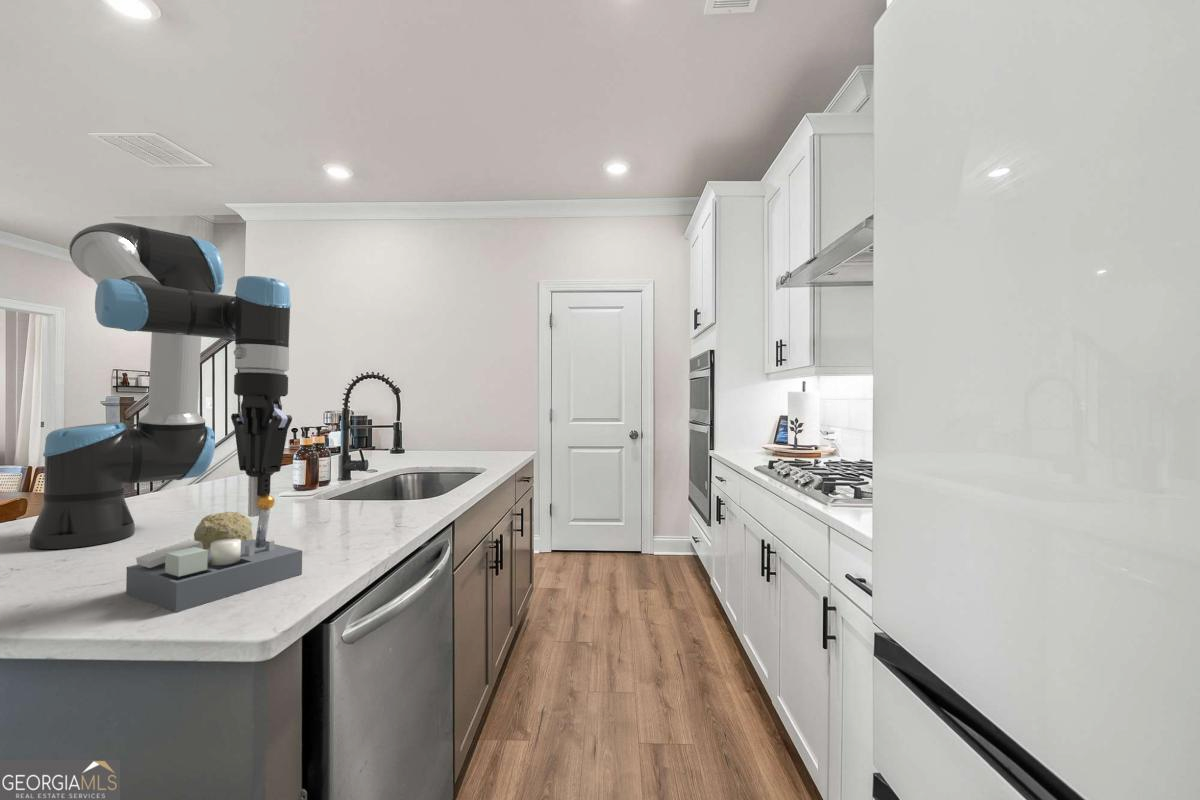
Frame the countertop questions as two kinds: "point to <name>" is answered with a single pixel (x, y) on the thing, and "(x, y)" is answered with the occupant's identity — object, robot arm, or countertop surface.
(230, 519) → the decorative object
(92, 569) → the countertop surface
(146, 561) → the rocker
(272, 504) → the lever
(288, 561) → the panel
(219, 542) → the button round
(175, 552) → the button square
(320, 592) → the countertop surface
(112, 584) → the countertop surface
